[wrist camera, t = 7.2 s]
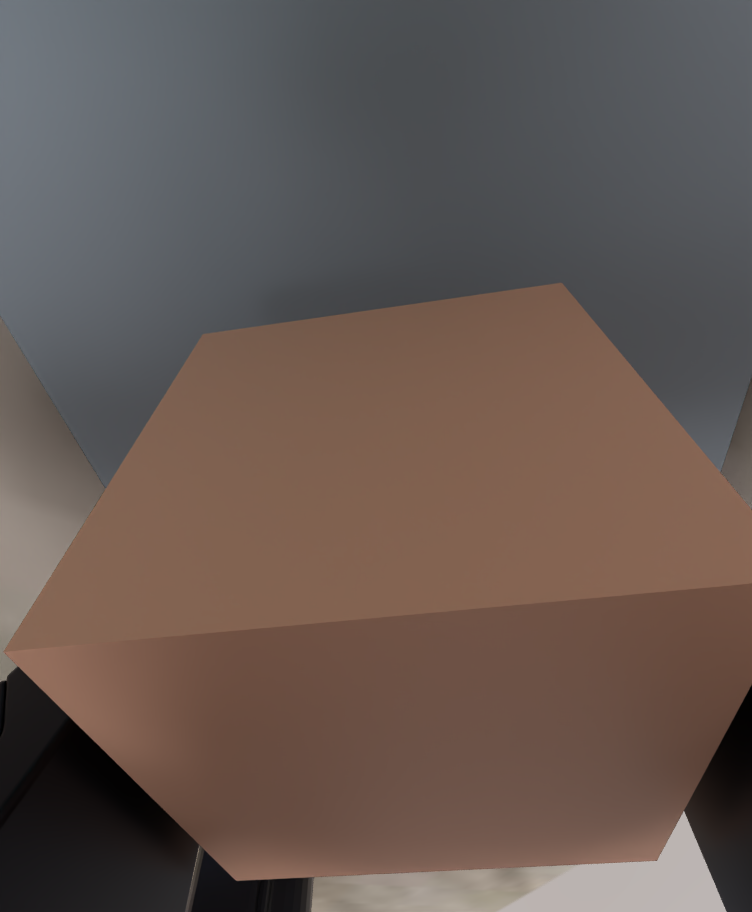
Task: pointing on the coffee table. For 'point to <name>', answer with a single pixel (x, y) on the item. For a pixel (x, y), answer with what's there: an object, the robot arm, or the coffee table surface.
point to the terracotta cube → (408, 597)
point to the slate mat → (371, 182)
